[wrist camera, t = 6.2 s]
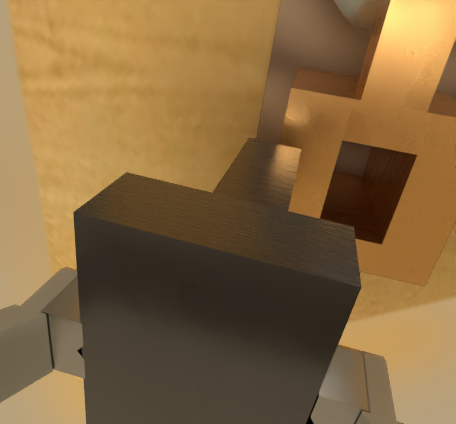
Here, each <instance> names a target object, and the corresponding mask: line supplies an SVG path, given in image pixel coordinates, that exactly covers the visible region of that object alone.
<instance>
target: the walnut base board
mask: <svg viewBox="0 0 456 424" xmlns="http://www.w3.org/2000/svg"><path fill="white" fill-rule="evenodd" d="M369 42H370V37H369V36H367V35H365V34H363V33H362V32H360V31H359V30H358V29H357V28H355V27H354V26H353V25H352V24H351V23H350V22H349V21H348V20H347V19H346V18H345V17H344V15H343V14H342V13H341V11H340V10H339V8H338V7H337V5H336V3H335V1H334V0H281V5H280V10H279V16H278V21H277V27H276V32H275V38H274V43H273V49H272V55H271V60H270V66H269V71H268V77H267V82H266V88H265V93H264V99H263V104H262V110H261V116H260V121H259V127H258V132H257V138H256V140H261V141H265V142H270V143H275V144H279V143H280V138H281V133H282V128H283V124H284V119H285V114H286V110H287V105H288V100H289V95H290V91H291V87H292V84H293V82H294V80H295V77H296V75H297V73H298V70H299V68H300V66H302V67H308V68H314V69H319V70H325V71H331V72H337V73H342V74H348V75H354V76H360V73H361V69H362V66H363V62H364V59H365V55H366V52H367V48H368V45H369ZM436 90H439V91H441V92H442V93H444V94H446V95H448V96H450V97H451V98H453V99H455V100H456V41H455V42H454V44H453V47H452V49H451V52H450V54H449V57H448V60H447V62H446V65H445V67H444V70H443V73H442V75H441V78H440V80H439V83H438V85H437V88H436ZM371 149H372V146H369V145H364V144H359V143H354V142H349V141H344V140H342V143H341V147H340V150H339V154H338V157H337V160H336V164H335V167H334V171H338V172H343V173H347V174H352V175H357V176H363V173H364V170H365V167H366V164H367V161H368V158H369V155H370V152H371Z"/></svg>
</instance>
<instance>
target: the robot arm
mask: <svg viewBox="0 0 456 424" xmlns="http://www.w3.org/2000/svg"><path fill="white" fill-rule="evenodd" d="M83 345H84V344H83V329H82V323H80V311H79V294H78V278H77V270H76V269H73V268H70V267H65V268H62V269H60V270H59V271H58V272H57V273H56V274H55V275H54V276H53V277H52V278H50V279H49V280H48V281H47V282H46V283H45V284H44V285H43V286H42V287H41V288H40V289H39V290H37V291H36V292H35V293H34V294H33V295H32V296H31V297H30V298H29V299H28V300H26V301H25V302H24V303H23V304H22V305H21V306H18V305H12V306H10V307H6V308H3V309H1V310H0V403H1V402H2V401H4V400H6V399H7V398H9V397H10V396H12V395H14V394H16V393H17V392H19V391H21V390H22V389H24V388H26V387H27V386H29V385H31V384H32V383H34V382H35V381H37V380H39V379H40V378H42V377H44V376H46V375H47V374H49V373H50V372H52V371H53V369H54V370H58V371H61V372H64V373H68V374H71V375H75V376H78V377H81V378H85V361H84V358H83V357H82V346H83ZM306 424H403V423H400V422H397V421H396V416H395V410H394V404H393V399H392V393H391V387H390V381H389V375H388V370H387V364H386V360H385V359H384V357H383V356H379V355H376V354H372V353H368V352H364V351H360V350H356V349H352V348H349V347H346V346H342V345H338V346H337V348H336V351H335V353H334V356H333V358H332V360H331V363H330V365H329V368H328V370H327V373H326V375H325V378H324V380H323V383H322V385H321V388H320V390H319V392H318V395H317V397H316V400H315V402H314V405H313V407H312V410H311V412H310V415H309V417H308V420H307V422H306Z"/></svg>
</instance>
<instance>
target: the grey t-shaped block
mask: <svg viewBox="0 0 456 424" xmlns="http://www.w3.org/2000/svg"><path fill="white" fill-rule="evenodd" d="M300 153H301V149H298V148H293V147H289V146H284V145H279V144H275V143H270V142H265V141H261V140H256V139H251V138H249V139H248V141H247V142H246V144H245V145H244V147H243V148H242V150H241V151H240V153H239V154H238V155H237V157H236V158H235V160H234V161H233V163H232V164H231V166H230V167H229V169H228V170H227V172H226V173H225V175H224V176H223V178H222V179H221V181H220V182H219V184H218V185H217V187H216V188H215V190H214V191H213V193H210V192H206V191H202V190H198V189H194V188H189V187H185V186H181V185H177V184H173V183H169V182H164V181H160V180H156V179H152V178H148V177H143V176H139V175H135V174H131V173H127V172H126V173H125V174H124V175H122V176H121V177H120V178H118V179H117V180H116V181H114V182H113V183H112V184H110V185H109V186H108V187H107V188H105V189H104V190H103V191H101V192H100V193H99V194H97V195H96V196H95V197H93V198H92V199H91V200H89V201H88V202H87V203H85V204H84V205H83V206H81V207H80V208H79V209H77V210H76V211H75V212H74V228H75V245H76V261H77V278H78V294H79V311H80V323H82V329H83V344H84V345H83V346H82V357H83V358H84V361H85V378H84V391H85V407H86V408H85V409H86V424H306V422H307V420H308V417H309V415H310V412H311V410H312V407H313V405H314V402H315V400H316V397H317V395H318V392H319V390H320V388H321V385H322V383H323V380H324V378H325V375H326V373H327V370H328V368H329V365H330V363H331V360H332V358H333V356H334V353H335V351H336V348H337V346H338V343H339V341H340V338H341V336H342V333H343V331H344V328H345V326H346V323H347V321H348V319H349V316H350V314H351V311H352V309H353V306H354V304H355V301H356V299H357V296H358V294H359V291H360V289H361V281H360V273H359V264H358V256H357V248H356V240H355V232H354V227H353V226H349V225H344V224H340V223H336V222H332V221H328V220H323V219H319V218H315V217H311V216H307V215H303V214H298V213H294V212H290V211H288V210H289V205H290V200H291V196H292V191H293V186H294V182H295V177H296V172H297V167H298V163H299V158H300Z"/></svg>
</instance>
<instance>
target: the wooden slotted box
mask: <svg viewBox="0 0 456 424" xmlns="http://www.w3.org/2000/svg"><path fill="white" fill-rule="evenodd" d="M334 1H335V3H336V5H337V7H338V8H339V10H340V11H341V13H342V14H343V15H344V17H345V18H346V19H347V20H348V21H349V22H350V23H351V24H352V25H353V26H354V27H355V28H357V29H358V30H359V31H360V32H362V33H363V34H365V35H367V36H369V37H370V42H369V45H368V48H367V52H366V55H365V59H364V62H363V66H362V69H361V73H360V76H354V75H348V74H342V73H337V72H331V71H325V70H319V69H314V68H308V67H302V66H300V68H299V70H298V73H297V75H296V77H295V80H294V82H293V84H292V87H291V91H290V95H289V100H288V105H287V110H286V114H285V119H284V124H283V128H282V133H281V138H280V143H279V145H284V146H289V147H293V148H298V149H301V153H300V158H299V163H298V167H297V172H296V177H295V182H294V186H293V191H292V196H291V200H290V205H289V210H288V211H290V212H294V213H298V214H303V215H307V216H311V217H315V218H319V219H323V220H328V221H332V222H336V223H340V224H344V225H349V226H353V227H354V232H355V240H356V248H357V256H358V264H359V271H361V272H365V273H369V274H373V275H378V276H382V277H386V278H390V279H395V280H399V281H403V282H407V283H412V284H416V285H420V286H424V287H425V284H426V282H427V280H428V278H429V276H430V274H431V272H432V270H433V268H434V266H435V264H436V262H437V260H438V258H439V256H440V254H441V252H442V250H443V248H444V246H445V244H446V242H447V240H448V238H449V236H450V234H451V232H452V230H453V227H454V225H455V223H456V100H455V99H453V98H451V97H450V96H448V95H446V94H444V93H442V92H441V91H439V90H436V88H437V85H438V83H439V80H440V78H441V75H442V73H443V70H444V67H445V65H446V62H447V60H448V57H449V54H450V52H451V49H452V47H453V44H454V42H455V41H456V0H334ZM342 140H344V141H349V142H354V143H359V144H364V145H369V146H372V149H371V152H370V155H369V158H368V161H367V164H366V167H365V170H364V173H363V176H357V175H352V174H347V173H343V172H338V171H334V167H335V164H336V160H337V157H338V154H339V150H340V147H341V143H342Z"/></svg>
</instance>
